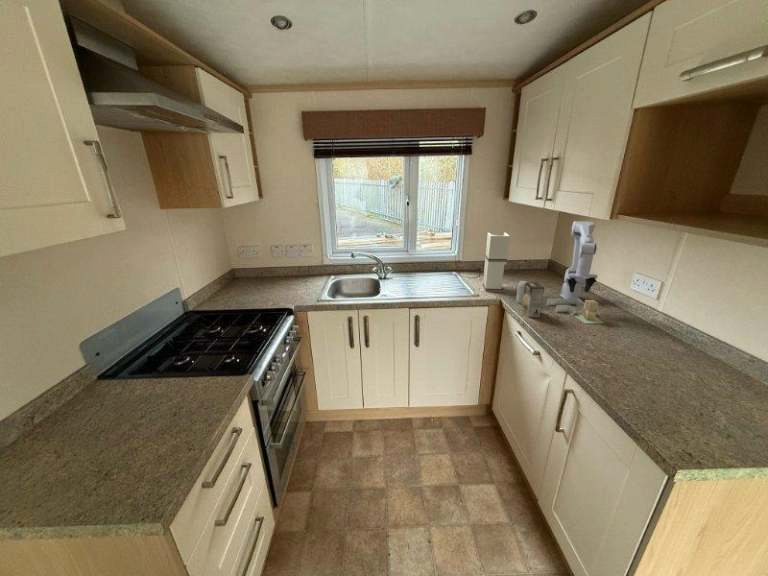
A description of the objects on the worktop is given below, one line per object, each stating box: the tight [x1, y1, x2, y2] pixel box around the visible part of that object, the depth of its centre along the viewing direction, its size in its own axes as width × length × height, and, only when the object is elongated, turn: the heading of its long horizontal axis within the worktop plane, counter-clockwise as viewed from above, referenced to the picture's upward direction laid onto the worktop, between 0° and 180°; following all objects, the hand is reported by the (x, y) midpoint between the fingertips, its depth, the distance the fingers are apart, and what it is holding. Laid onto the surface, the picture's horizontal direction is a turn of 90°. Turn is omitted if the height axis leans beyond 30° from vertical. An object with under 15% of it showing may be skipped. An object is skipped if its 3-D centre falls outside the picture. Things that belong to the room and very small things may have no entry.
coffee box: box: [521, 281, 545, 318], centre depth 156 cm, size 9×6×16 cm
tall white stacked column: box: [482, 232, 511, 293], centre depth 188 cm, size 11×11×35 cm
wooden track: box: [546, 297, 585, 316], centre depth 161 cm, size 15×16×4 cm
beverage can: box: [515, 280, 528, 304], centre depth 171 cm, size 6×6×12 cm
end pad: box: [573, 314, 605, 325], centre depth 150 cm, size 9×9×1 cm
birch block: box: [581, 299, 600, 320], centre depth 149 cm, size 4×4×9 cm
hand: (578, 291), depth 158 cm, fingers open, 7 cm apart
